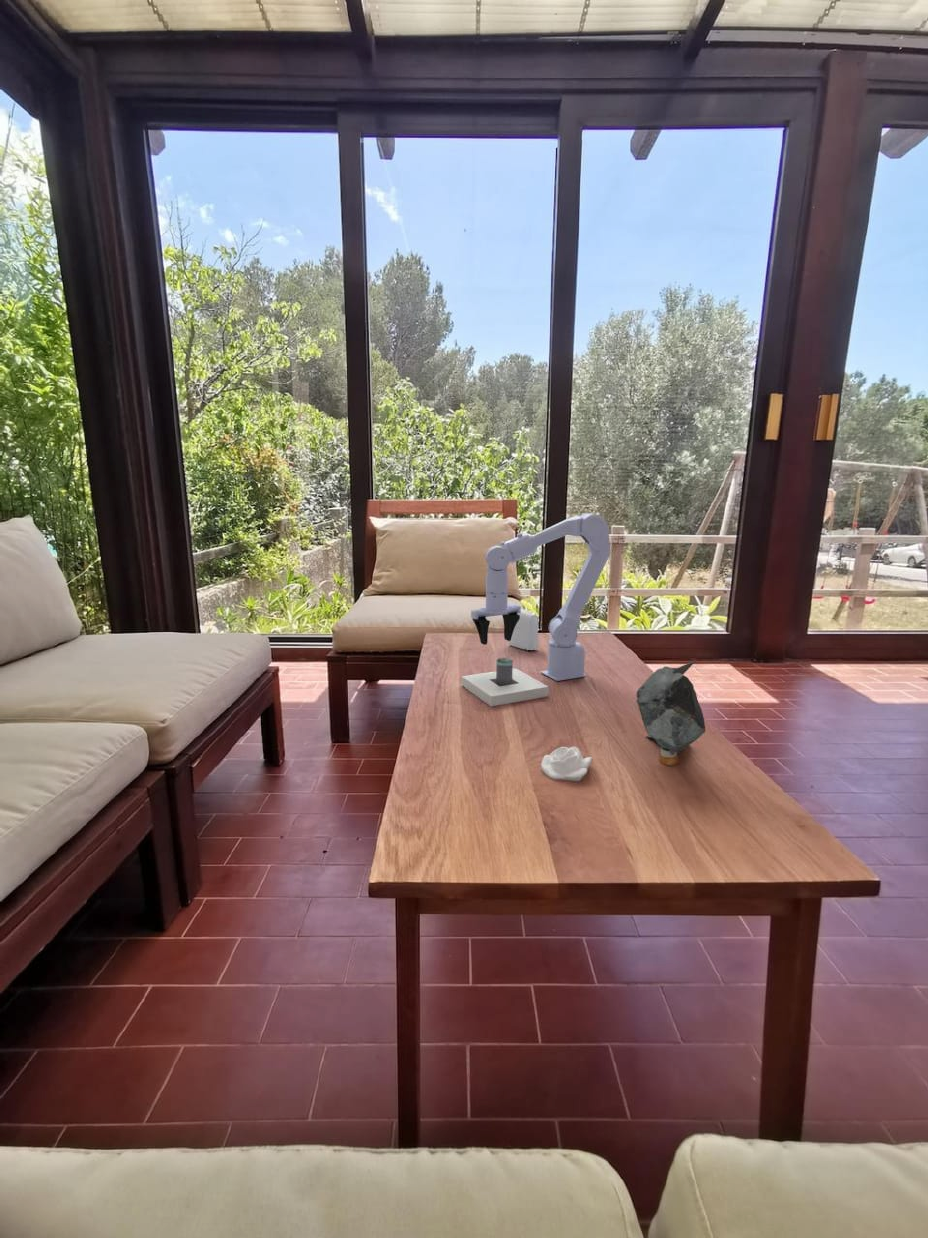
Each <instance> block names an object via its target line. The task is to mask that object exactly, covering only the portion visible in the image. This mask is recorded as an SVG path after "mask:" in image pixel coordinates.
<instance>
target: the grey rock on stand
mask: <svg viewBox="0 0 928 1238" xmlns="http://www.w3.org/2000/svg"><path fill="white" fill-rule="evenodd" d="M697 660H698V659H695V660H693V661H691V662H688V663H686V664H684V665H680V666H679V667H671V666H663V667H661V668H658V669H656V670H655V671H654V672H653V673H652V674H650V676H648V678H647V679H646V680H645V681H644V683H643V684H641V686H640V687H639V688H638V690H637V691H636V698H637V699H636V703H637V706H638V709H639V713H640V716H641V719H642V722H643V727H644V729H645V731H646V733H647V735H646V736H645V738H647V739H650V740H654V741H655V742H656V743H657V744H658V745H659V746H660V752H659V757H658V758H659V759H658V760H659V762H660V763H661V764H663V765H667V766H677V765H678V764H679V755H680V753H681V752H682V751H684V749H686V748H687V747H688V746H690V745H691V744H692V743H694V742H695V741H696V740H698V739H700V738H701V736H703V734H705V733H706V724H705V718H704V717H705V716H704V714H703V710H702V707H701V705H700V702H699V700H698V696H697V692H696V690H695V688H694V684H693V683H692V681H691V680H690V679H689V677H688V676H686V675H685V673H686V672H687V671H688V670H689V669H690V668H691V667H692V666H693V665H694V664H695V663H696V662H697Z"/></svg>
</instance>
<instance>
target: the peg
mask: <svg viewBox="0 0 928 1238" xmlns="http://www.w3.org/2000/svg"><path fill="white" fill-rule="evenodd" d="M513 662H514V661H513V659H511V658H507V657H503V658H502V657H501V658H497V659H496V670H495V671H496V684H497V685H498V686H505V685H512V669H514V667H513Z"/></svg>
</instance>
